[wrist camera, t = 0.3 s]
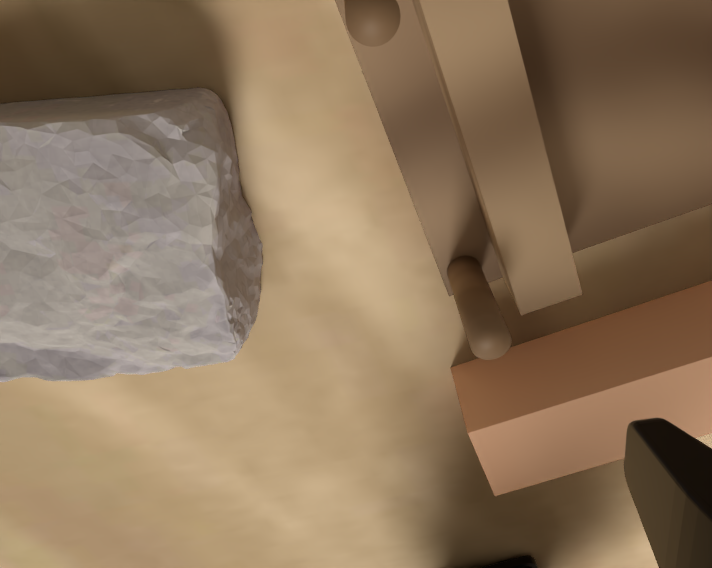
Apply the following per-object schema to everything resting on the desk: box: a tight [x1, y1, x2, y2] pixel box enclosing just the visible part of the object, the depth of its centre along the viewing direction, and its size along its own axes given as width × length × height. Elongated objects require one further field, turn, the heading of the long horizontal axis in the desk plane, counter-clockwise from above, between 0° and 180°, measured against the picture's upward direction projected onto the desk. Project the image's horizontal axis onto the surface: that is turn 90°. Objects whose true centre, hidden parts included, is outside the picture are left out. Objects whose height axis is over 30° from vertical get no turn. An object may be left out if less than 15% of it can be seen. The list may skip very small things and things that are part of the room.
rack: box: [335, 0, 712, 360], centre depth 17 cm, size 11×14×5 cm
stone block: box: [0, 87, 263, 382], centre depth 20 cm, size 12×5×10 cm
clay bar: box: [451, 280, 712, 496], centre depth 23 cm, size 14×4×4 cm, turn 112°
